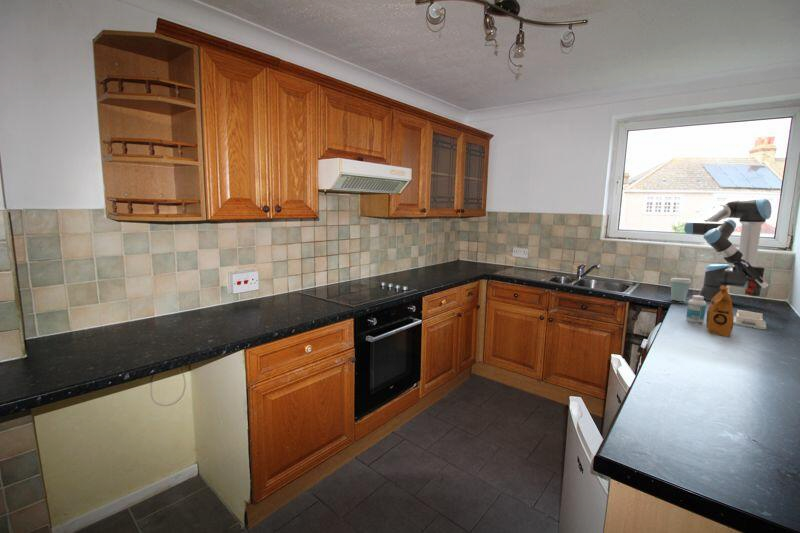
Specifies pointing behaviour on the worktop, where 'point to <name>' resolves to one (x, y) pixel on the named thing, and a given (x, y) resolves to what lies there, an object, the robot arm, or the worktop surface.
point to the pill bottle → (696, 309)
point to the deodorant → (754, 283)
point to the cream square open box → (749, 319)
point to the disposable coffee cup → (679, 288)
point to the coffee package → (720, 314)
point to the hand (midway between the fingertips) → (762, 285)
